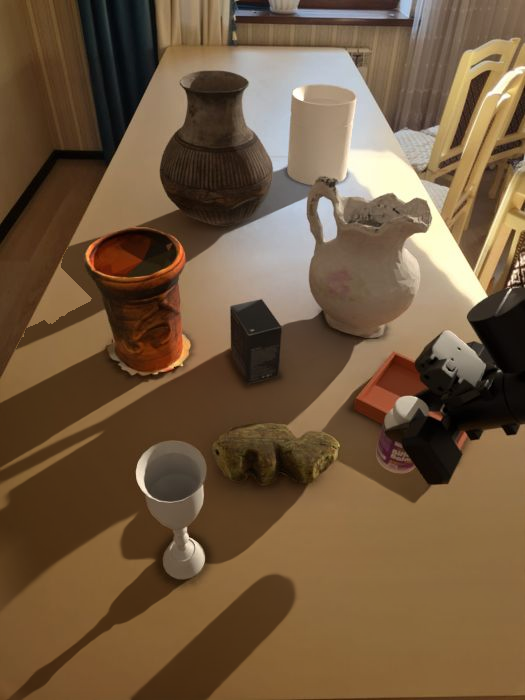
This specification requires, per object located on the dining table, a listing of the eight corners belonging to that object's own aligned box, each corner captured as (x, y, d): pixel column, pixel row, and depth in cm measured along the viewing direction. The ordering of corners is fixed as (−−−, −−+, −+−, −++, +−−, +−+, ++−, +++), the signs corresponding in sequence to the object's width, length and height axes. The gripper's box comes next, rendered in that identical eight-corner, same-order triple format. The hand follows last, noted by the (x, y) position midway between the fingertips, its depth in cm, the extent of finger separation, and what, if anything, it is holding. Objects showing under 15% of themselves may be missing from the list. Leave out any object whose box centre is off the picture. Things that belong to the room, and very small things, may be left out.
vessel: (125, 394, 84) (103, 290, 71) (94, 342, 93) (69, 240, 79) (207, 362, 90) (201, 260, 77) (171, 315, 99) (160, 216, 85)
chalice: (148, 542, 66) (128, 452, 54) (201, 522, 68) (193, 432, 56) (164, 598, 61) (146, 513, 49) (221, 575, 63) (217, 488, 51)
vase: (252, 188, 138) (254, 59, 118) (285, 236, 121) (294, 95, 100) (156, 200, 132) (141, 66, 111) (177, 253, 114) (163, 105, 94)
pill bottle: (388, 480, 67) (403, 430, 61) (368, 447, 71) (380, 397, 64) (425, 468, 68) (444, 418, 62) (404, 437, 72) (419, 387, 66)
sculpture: (209, 464, 68) (214, 413, 76) (209, 492, 71) (214, 441, 79) (348, 467, 68) (338, 416, 77) (343, 495, 71) (334, 443, 80)
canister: (275, 174, 144) (279, 95, 131) (306, 155, 154) (313, 80, 141) (327, 191, 138) (337, 110, 124) (356, 170, 148) (368, 92, 134)
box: (279, 376, 88) (282, 326, 81) (247, 385, 86) (247, 335, 79) (260, 346, 93) (262, 297, 86) (229, 354, 92) (229, 305, 84)
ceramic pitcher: (278, 333, 98) (283, 213, 80) (309, 270, 110) (319, 154, 92) (397, 364, 93) (431, 243, 75) (416, 294, 105) (448, 177, 87)
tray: (484, 405, 85) (490, 394, 83) (454, 461, 76) (459, 449, 75) (390, 362, 91) (393, 350, 90) (353, 409, 83) (355, 397, 81)
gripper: (506, 285, 58) (393, 326, 70) (444, 386, 47) (321, 415, 59) (554, 367, 60) (437, 393, 72) (507, 484, 49) (376, 492, 61)
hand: (396, 419), depth 66 cm, fingers closed on pill bottle, 5 cm apart
